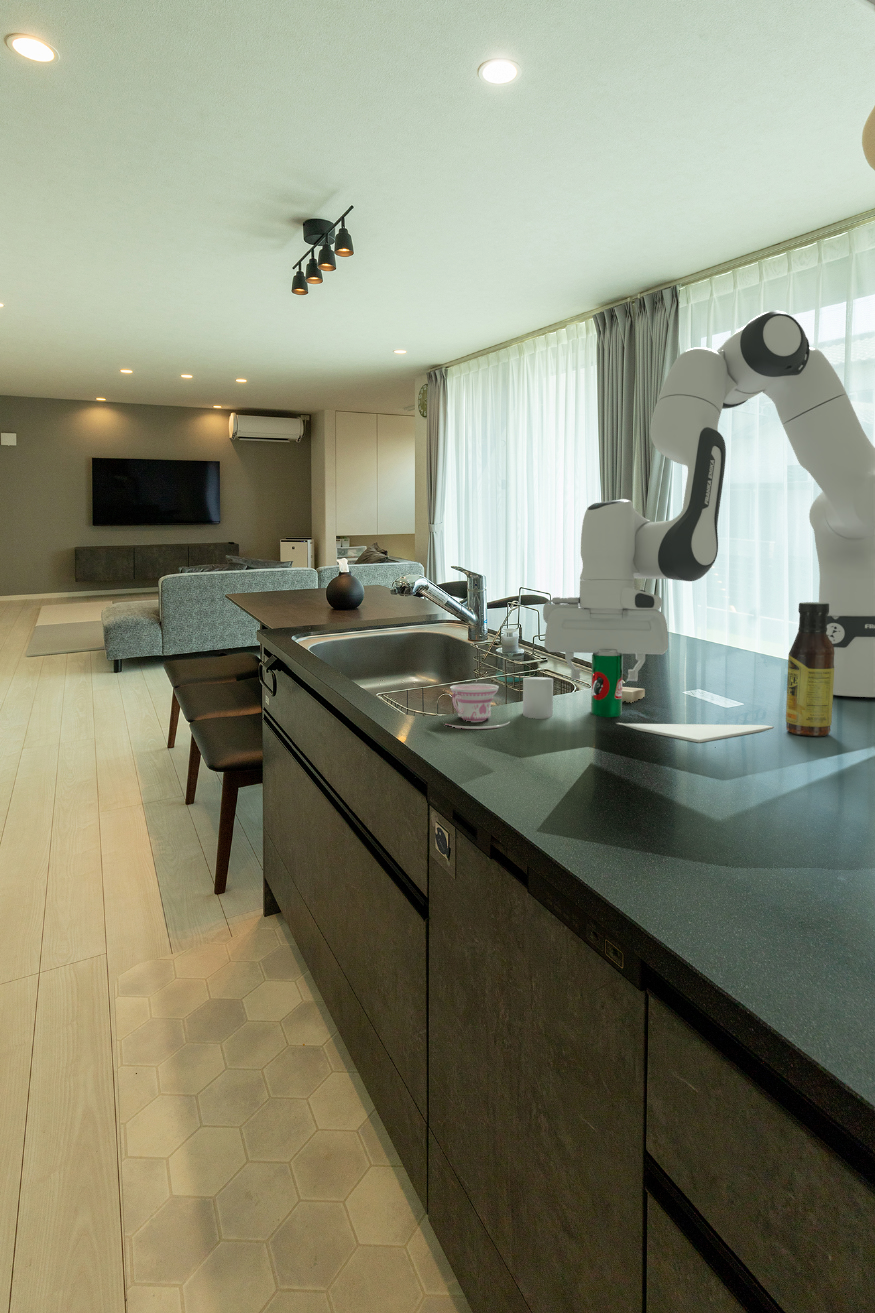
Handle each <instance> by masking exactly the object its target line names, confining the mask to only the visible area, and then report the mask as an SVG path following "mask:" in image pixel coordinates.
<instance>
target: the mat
mask: <svg viewBox="0 0 875 1313" xmlns="http://www.w3.org/2000/svg"><path fill="white" fill-rule="evenodd" d="M616 725H620V726H624V727H627V728H631V729H634V730H636V731H641V732H646V733H650V734H655V735H658V736H659V735H660V736H665V737H669V738H675V739H680V740H685V741H690V742H695V743H703V742H704V743H705V742H711V741H716V740H720V739H721V740H722V739H726V738H727V739H728V738H732V737H739V736H744V735H749V734H755V733H761V732H764V731H768V730H770V729H773V728H774V726H771V725H765V724H703V723H702V724H698V723H697V724H694V723H692V724H691V723H690V724H688V723H687V724H685V723H678V724H677V723H623V722H616Z"/></svg>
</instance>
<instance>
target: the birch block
mask: <svg viewBox="0 0 875 1313" xmlns="http://www.w3.org/2000/svg"><path fill="white" fill-rule="evenodd" d="M645 694H646V690H645V688H639V687H638V688H637V687H628V686H622V702H624V701H626V702H625V703H629V702H630V703H631V704H633V703H634V701H635V702H637V701H639V700H638V699H640V700H642V699H644V698H645V696H646V695H645ZM643 697H644V698H643ZM632 702H633V703H632ZM630 703H629V704H630Z"/></svg>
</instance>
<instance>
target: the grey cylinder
mask: <svg viewBox="0 0 875 1313" xmlns="http://www.w3.org/2000/svg"><path fill="white" fill-rule="evenodd" d="M522 680H523V681H522V716H524V717H525V718H527V717H528V718H529V719H532V718H533V720H545V719H549V718H550V719H551V718H552V717H553V716H554V714H553V712H554V710H553V708H554V678H551V677H543V676H539V677H538V676H530V677H523V679H522ZM534 718H535V719H534Z"/></svg>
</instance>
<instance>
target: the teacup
mask: <svg viewBox="0 0 875 1313" xmlns="http://www.w3.org/2000/svg"><path fill="white" fill-rule="evenodd" d="M499 687H500V686H499V685H497V684H491V683H460V684H453V685H451V686H449V688H450V691H451V692H452V694H451V697H452V698H451V701H452V705H453V708H454V710H456V712H457V715H458V717H459V718H461V719H462V720H463V721H465V720H466V721H465V722H467V721H471V722H470V723H482V722H484V721H486V720H488V718H490V717H491V704H492V702H493V700H494V695H496V693H497V692H498V691H499ZM510 723H511V721H508V722H506V723H503V724H497V725H496V724H495V725H483V726H467V725H465V726H463V725H455V724H449V723H445V725H449V726H452V727H451V728H453V727H455V728H454V729H461V728H462V730H486V729H487V730H488V729H496V728H497V729H498V728H503V727H505V726H508V725H509V724H510ZM445 725H444V726H445Z"/></svg>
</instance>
